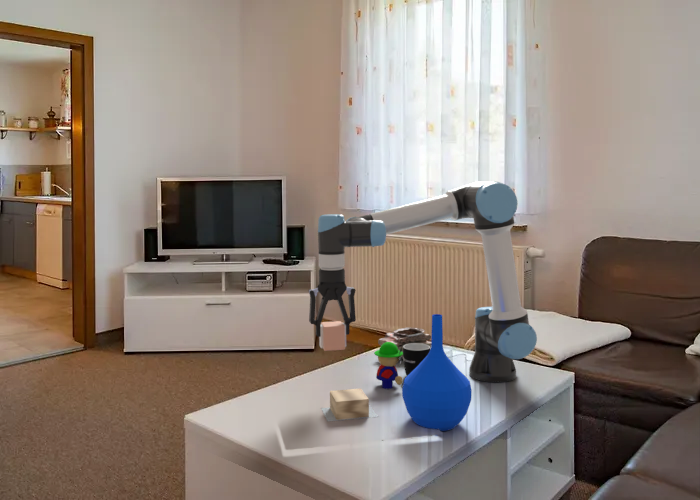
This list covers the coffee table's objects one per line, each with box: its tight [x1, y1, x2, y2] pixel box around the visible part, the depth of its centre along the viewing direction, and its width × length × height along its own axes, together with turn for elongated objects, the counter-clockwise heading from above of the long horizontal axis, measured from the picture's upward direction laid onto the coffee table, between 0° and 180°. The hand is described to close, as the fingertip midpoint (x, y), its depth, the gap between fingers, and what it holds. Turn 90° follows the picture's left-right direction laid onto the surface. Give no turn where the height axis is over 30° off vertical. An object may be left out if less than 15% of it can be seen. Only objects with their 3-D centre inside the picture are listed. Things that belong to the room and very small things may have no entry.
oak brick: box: [329, 388, 370, 421], centre depth 179 cm, size 9×9×5 cm
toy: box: [373, 342, 404, 390], centre depth 201 cm, size 11×9×15 cm
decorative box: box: [377, 326, 431, 360], centre depth 235 cm, size 13×20×10 cm, turn 118°
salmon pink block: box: [321, 320, 346, 352], centre depth 189 cm, size 6×6×7 cm
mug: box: [402, 343, 431, 377], centre depth 213 cm, size 12×9×10 cm
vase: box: [401, 313, 473, 432], centre depth 172 cm, size 18×18×30 cm
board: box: [320, 403, 379, 422], centre depth 180 cm, size 14×10×1 cm
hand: (332, 346), depth 190 cm, fingers closed on salmon pink block, 6 cm apart
